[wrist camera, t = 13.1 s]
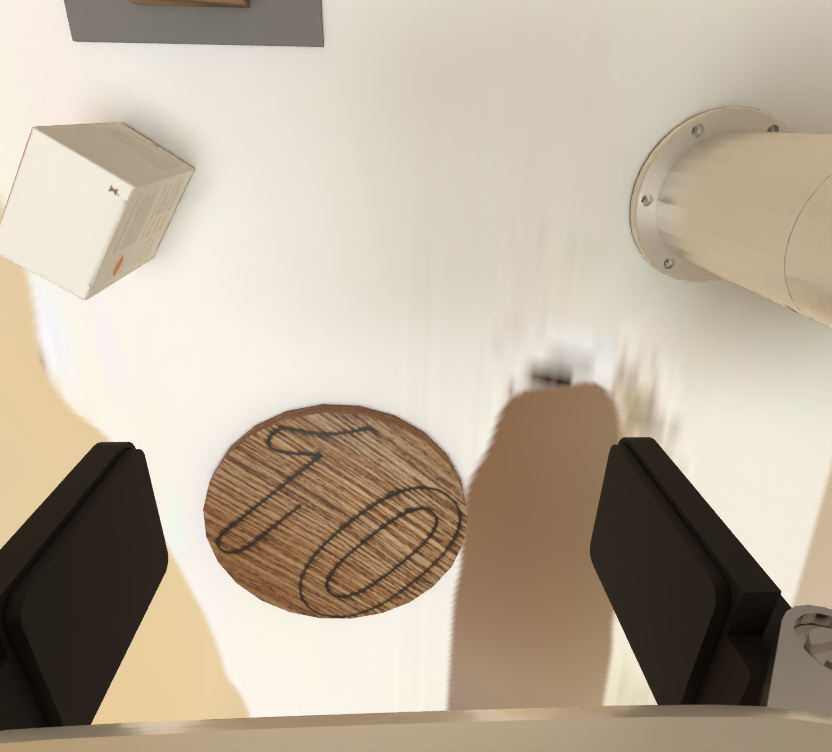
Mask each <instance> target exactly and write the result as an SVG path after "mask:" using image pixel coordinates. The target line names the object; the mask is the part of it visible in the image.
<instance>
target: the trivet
mask: <svg viewBox="0 0 832 752" xmlns="http://www.w3.org/2000/svg"><path fill="white" fill-rule="evenodd" d="M203 511H204V520H205V529H206V537H207V539H208V541H209V543H210V545H211V548H212V550H213V552H214V554H215V556H216V558H217V560H218V562H219V563H220V565H221V566H222V567H223V568H224V569H225V570H226V571H227V572H228V574H229V575H230V576H231V577H232V578H233V579H234V580H235V582H236V583H237V584H239V585H240V586H242V587H243V588H244V589H246V590H247V591H249V592H250V593H252V594H253V595H255V596H256V597H257V598H259V599H260V600H262V601H264V602H267V603H269V604H272V605H274V606H277V607H279V608H281V609H284V610H286V611H289V612H292V613H297V614H302V615H307V616H312V617H317V618H357V617H362V616H368V615H374V614H379V613H383V612H386V611H388V610H391V609H393V608H396V607H399V606H401V605H404V604H406V603H409V602H411V601H412V600H414V599H415V598H417V597H418V596H420V595H421V594H423V593H424V592H426V591H427V590H429V589H430V588H432V587H433V586H434V585H435V584H436V583H437V582H438V581H439V580H440V579H441V577H442V576H443V575H444V574H445V573H446V572H447V571H448V570H449V569H450V568H451V567H452V565H453V563H454V561H455V559H456V557H457V555H458V553H459V551H460V549H461V547H462V545H463V543H464V536H465V530H466V523H467V511H466V506H465V500H464V495H463V489H462V485H461V480H460V478H459V476H458V474H457V472H456V471H455V469H454V467H453V465H452V463H451V462H450V460H449V458H448V456H447V454H446V453H445V452H444V451H443V450H442V449H441V448H440V447H439V446H438V445H437V444H435V443H434V442H433V441H432V440H431V439H430V438H429V437H428V436H427V435H426V434H425V433H424V432H423V431H421V430H419V429H417V428H415V427H414V426H412V425H410V424H408V423H407V422H405V421H403V420H401V419H400V418H398V417H396V416H394V415H390V414H387V413H383V412H380V411H376V410H372V409H369V408H365V407H362V406H349V405H326V404H322V405H317V406H311V407H306V408H301V409H296V410H290V411H286V412H284V413H282V414H280V415H277V416H275V417H273V418H271V419H269V420H267V421H264V422H262V423H260V424H258V425H256V426H254V427H253V428H252V429H251V430H250V431H248V432H247V433H246V434H245V435H244V436H242V437H241V438H240V439H239V440H238V441H237V442H235V443H234V444H233V445H232V446H231V447H230V448H229V450H228V451H227V453H226V455H225V456H224V458H223V459H222V461H221V462H220V464H219V466H218V467H217V469H216V470H215V472H214V474H213V476H212V478H211V480H210V483H209V487H208V491H207V496H206V500H205V504H204V509H203Z"/></svg>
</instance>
